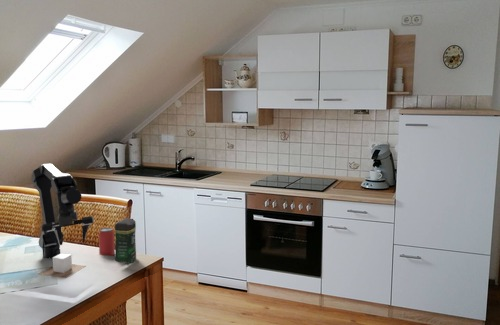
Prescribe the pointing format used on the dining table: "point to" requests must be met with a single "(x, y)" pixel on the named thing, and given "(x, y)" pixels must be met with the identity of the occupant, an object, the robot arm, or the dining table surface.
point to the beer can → (106, 242)
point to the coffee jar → (125, 241)
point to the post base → (63, 275)
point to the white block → (62, 263)
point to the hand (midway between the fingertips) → (71, 245)
